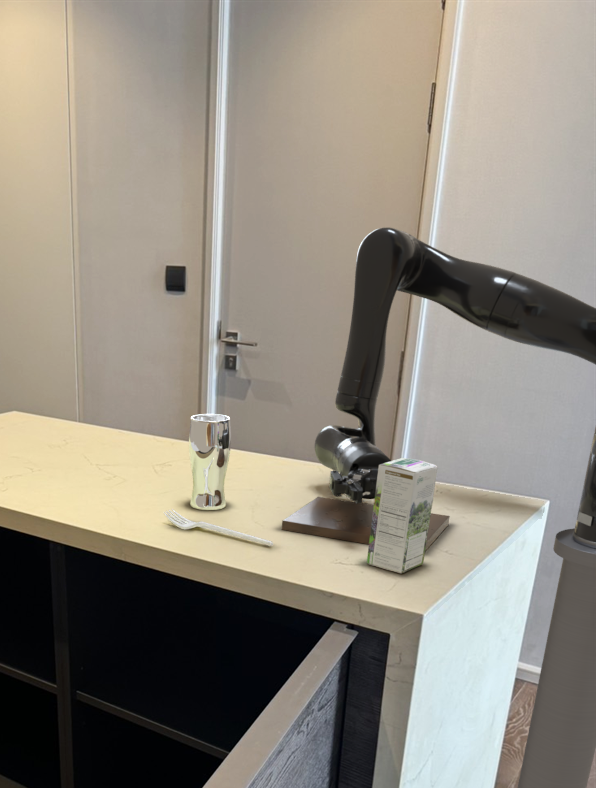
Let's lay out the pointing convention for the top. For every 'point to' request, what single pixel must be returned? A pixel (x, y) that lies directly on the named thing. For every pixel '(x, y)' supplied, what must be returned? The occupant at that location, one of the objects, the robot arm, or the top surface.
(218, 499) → the beer glass
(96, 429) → the top surface
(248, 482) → the top surface
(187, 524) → the fork
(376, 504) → the syrup box
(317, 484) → the top surface
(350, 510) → the walnut board
